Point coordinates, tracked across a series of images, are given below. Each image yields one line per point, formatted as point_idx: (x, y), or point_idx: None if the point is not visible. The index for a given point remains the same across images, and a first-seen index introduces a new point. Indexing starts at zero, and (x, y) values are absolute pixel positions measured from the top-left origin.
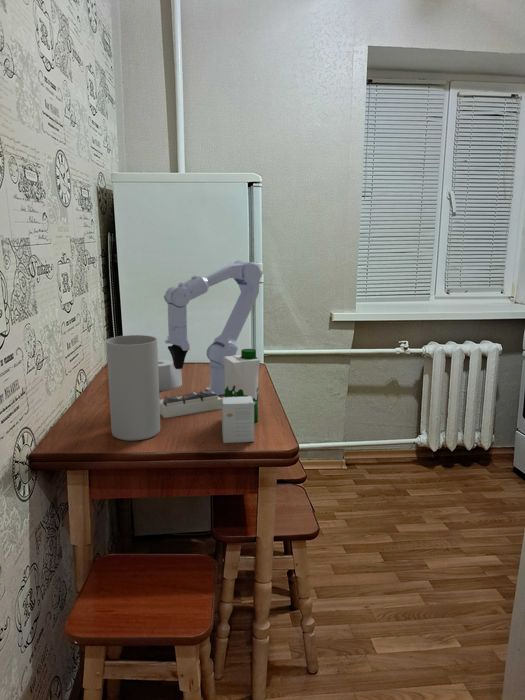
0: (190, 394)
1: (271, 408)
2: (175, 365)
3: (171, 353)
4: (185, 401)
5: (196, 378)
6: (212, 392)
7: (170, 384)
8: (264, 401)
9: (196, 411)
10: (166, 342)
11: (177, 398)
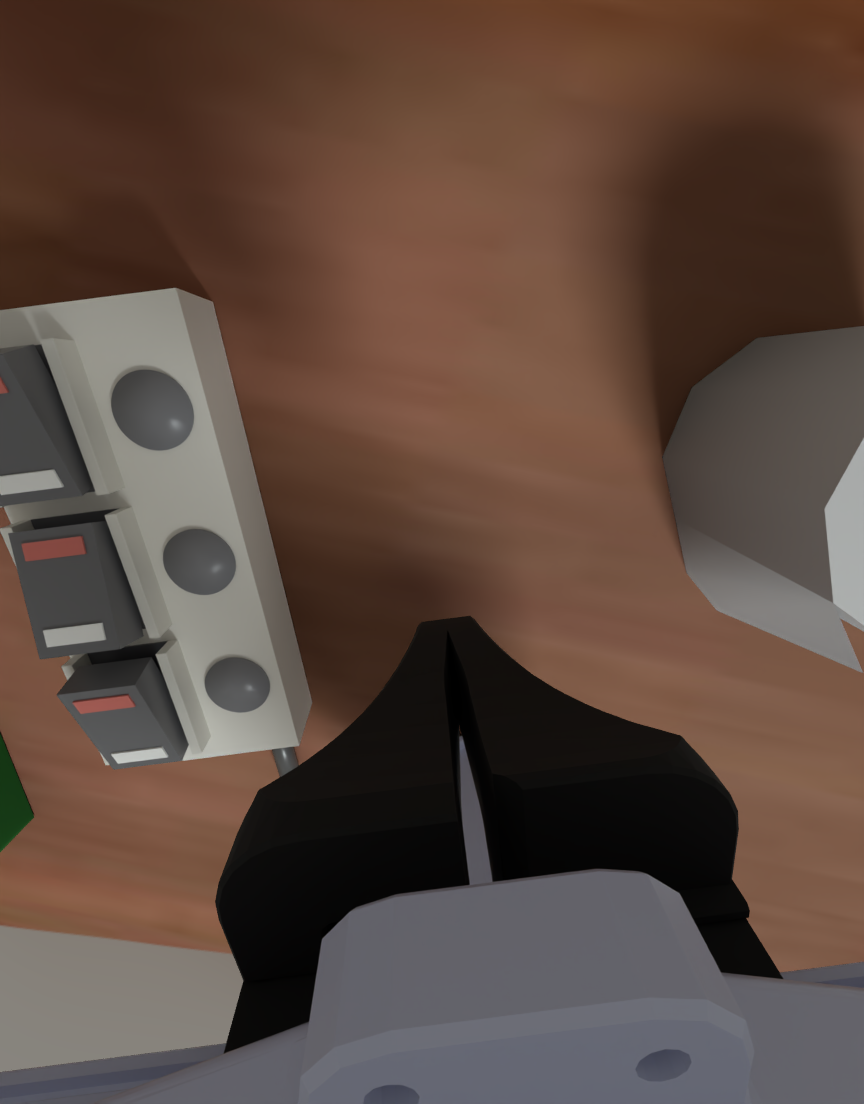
0: (77, 597)
1: (113, 917)
2: (416, 637)
3: (515, 713)
4: (4, 527)
5: (817, 723)
6: (137, 753)
7: (695, 528)
8: None
9: None
10: (373, 955)
11: (1, 471)
